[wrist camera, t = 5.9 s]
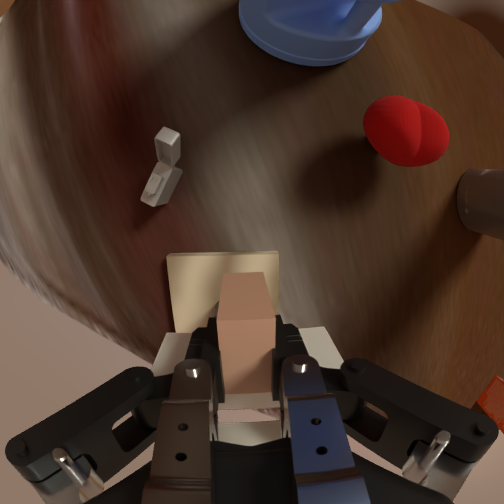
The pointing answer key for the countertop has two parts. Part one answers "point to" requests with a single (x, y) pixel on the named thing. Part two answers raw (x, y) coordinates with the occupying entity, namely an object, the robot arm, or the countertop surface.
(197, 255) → the beige peg base
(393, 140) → the red heart
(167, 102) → the countertop surface
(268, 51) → the water jug
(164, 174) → the lighter
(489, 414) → the pasta box
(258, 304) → the white square frame
